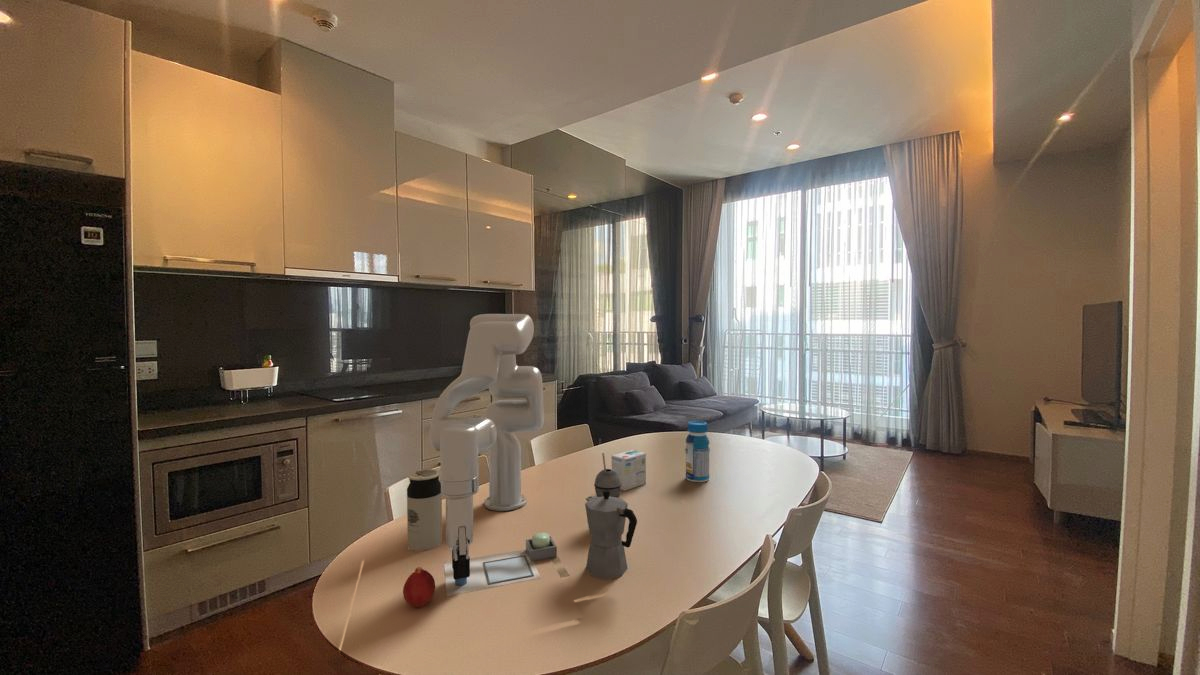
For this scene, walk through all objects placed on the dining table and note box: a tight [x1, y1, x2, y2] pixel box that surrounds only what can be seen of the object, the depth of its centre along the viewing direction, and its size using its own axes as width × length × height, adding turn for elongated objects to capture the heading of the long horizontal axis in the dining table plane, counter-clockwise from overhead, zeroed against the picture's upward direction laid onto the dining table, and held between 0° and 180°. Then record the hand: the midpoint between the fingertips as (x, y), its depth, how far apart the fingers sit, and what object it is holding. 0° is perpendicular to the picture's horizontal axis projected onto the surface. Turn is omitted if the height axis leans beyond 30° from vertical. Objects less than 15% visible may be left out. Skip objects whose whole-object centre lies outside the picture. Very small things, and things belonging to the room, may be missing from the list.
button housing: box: [525, 535, 558, 563], centre depth 111 cm, size 6×6×3 cm
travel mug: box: [406, 468, 443, 552], centre depth 116 cm, size 8×8×18 cm
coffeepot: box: [584, 490, 638, 580], centre depth 103 cm, size 15×9×18 cm, turn 43°
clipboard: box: [443, 548, 570, 597], centre depth 104 cm, size 16×26×1 cm, turn 110°
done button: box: [531, 532, 551, 549], centre depth 111 cm, size 4×4×2 cm
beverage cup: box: [593, 452, 621, 498], centre depth 127 cm, size 7×7×20 cm
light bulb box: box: [611, 449, 647, 492], centre depth 161 cm, size 11×7×11 cm, turn 133°
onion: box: [402, 566, 436, 609], centre depth 91 cm, size 6×6×8 cm
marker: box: [452, 541, 467, 586], centre depth 98 cm, size 3×3×10 cm
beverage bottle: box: [684, 420, 711, 483], centre depth 166 cm, size 8×8×20 cm
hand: (460, 571), depth 98 cm, fingers open, 3 cm apart
